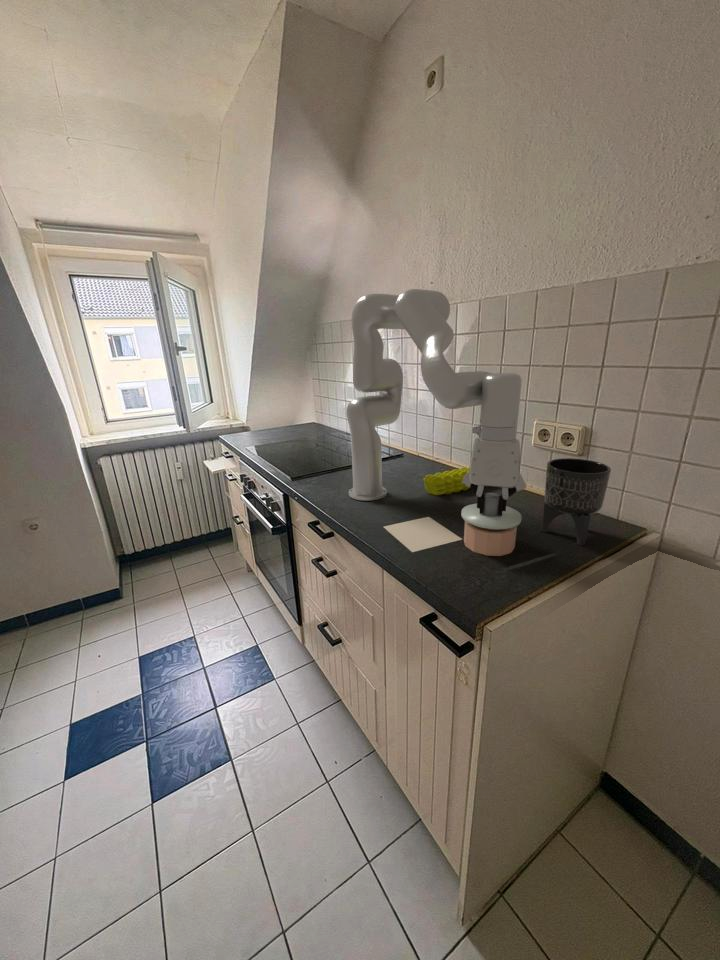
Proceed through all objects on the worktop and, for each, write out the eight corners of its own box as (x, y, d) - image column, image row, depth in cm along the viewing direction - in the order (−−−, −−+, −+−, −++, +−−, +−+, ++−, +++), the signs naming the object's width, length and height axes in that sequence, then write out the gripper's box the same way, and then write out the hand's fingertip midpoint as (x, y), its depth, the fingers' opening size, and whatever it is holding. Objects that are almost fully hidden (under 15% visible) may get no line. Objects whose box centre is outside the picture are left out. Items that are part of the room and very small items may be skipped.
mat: (383, 528, 99) (383, 526, 99) (428, 518, 104) (428, 516, 104) (412, 554, 86) (412, 552, 86) (462, 541, 91) (462, 539, 91)
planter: (611, 545, 87) (625, 472, 81) (557, 549, 86) (568, 475, 80) (576, 521, 99) (586, 456, 93) (528, 525, 98) (536, 459, 93)
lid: (449, 512, 89) (450, 491, 88) (493, 502, 94) (494, 482, 93) (487, 534, 78) (489, 511, 76) (534, 522, 83) (537, 500, 81)
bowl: (454, 541, 91) (455, 518, 89) (490, 531, 95) (492, 510, 93) (485, 562, 82) (487, 537, 80) (524, 551, 86) (527, 527, 84)
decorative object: (420, 493, 123) (421, 473, 121) (494, 476, 138) (496, 458, 136) (434, 500, 117) (435, 479, 115) (510, 482, 132) (512, 462, 129)
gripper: (455, 435, 80) (451, 514, 86) (541, 438, 74) (530, 524, 80) (460, 428, 86) (456, 502, 92) (539, 431, 80) (530, 510, 86)
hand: (490, 511), depth 86 cm, fingers closed on lid, 3 cm apart
